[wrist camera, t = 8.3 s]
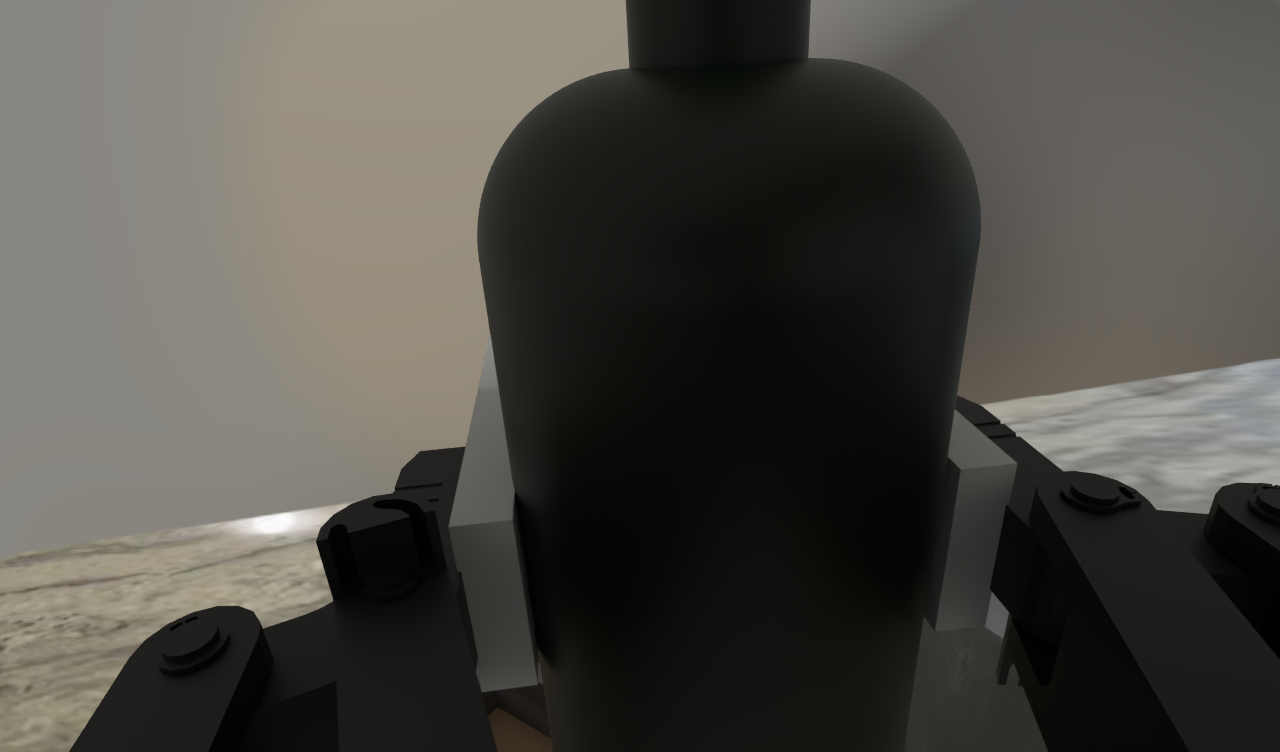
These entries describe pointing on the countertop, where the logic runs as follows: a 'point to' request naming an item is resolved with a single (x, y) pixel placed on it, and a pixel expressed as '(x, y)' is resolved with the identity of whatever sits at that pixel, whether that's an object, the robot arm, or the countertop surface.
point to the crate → (519, 718)
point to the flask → (969, 693)
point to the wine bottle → (729, 382)
